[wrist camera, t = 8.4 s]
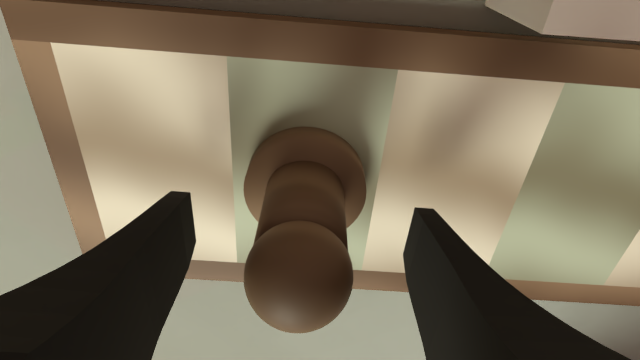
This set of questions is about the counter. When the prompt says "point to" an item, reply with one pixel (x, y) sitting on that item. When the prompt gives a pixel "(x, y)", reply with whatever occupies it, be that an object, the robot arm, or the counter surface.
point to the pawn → (302, 227)
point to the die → (575, 17)
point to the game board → (347, 134)
